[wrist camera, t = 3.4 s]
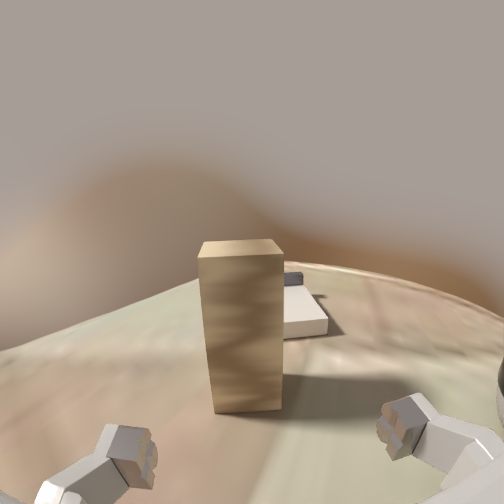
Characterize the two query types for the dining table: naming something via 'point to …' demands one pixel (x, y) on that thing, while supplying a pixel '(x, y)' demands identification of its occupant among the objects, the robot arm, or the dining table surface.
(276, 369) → the oak block
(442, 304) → the dining table surface
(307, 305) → the dock
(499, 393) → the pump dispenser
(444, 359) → the dining table surface
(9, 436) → the dining table surface
